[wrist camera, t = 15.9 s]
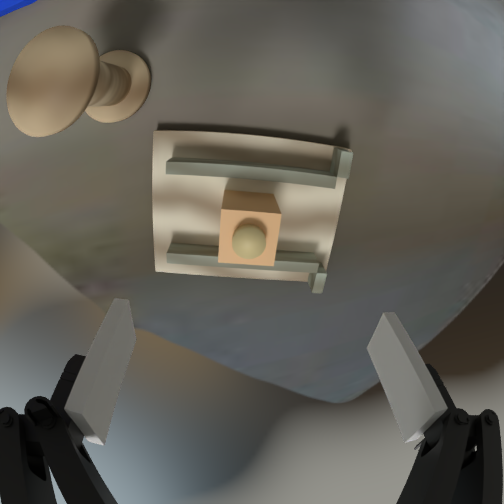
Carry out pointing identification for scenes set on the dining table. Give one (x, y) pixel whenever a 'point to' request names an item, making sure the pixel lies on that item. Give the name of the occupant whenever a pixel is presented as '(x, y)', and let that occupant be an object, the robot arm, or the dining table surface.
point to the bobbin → (73, 82)
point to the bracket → (13, 5)
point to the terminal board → (250, 180)
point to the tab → (248, 228)
